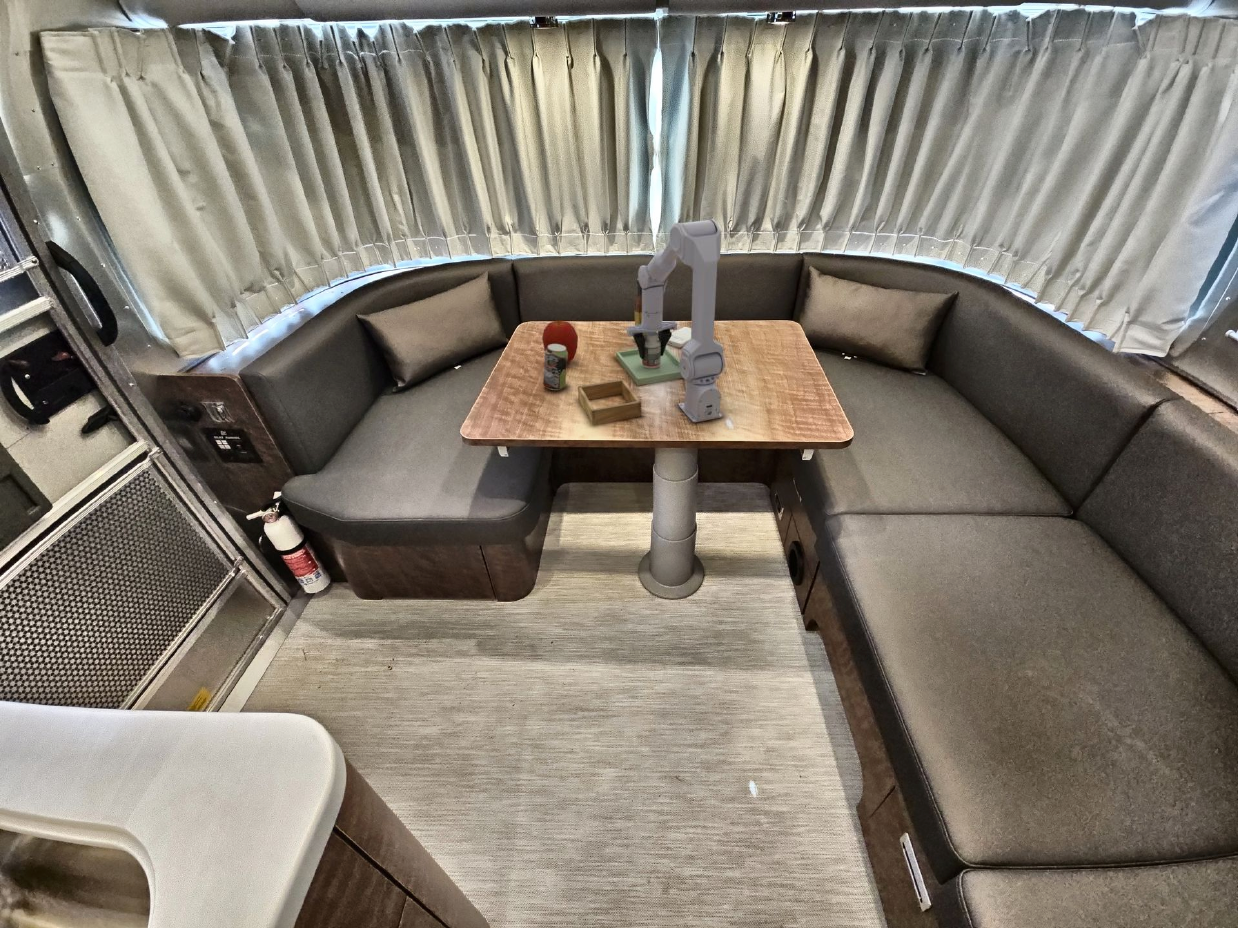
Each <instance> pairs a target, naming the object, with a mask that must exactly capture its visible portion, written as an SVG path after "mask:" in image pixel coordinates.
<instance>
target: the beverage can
mask: <svg viewBox="0 0 1238 928" xmlns="http://www.w3.org/2000/svg"><path fill="white" fill-rule="evenodd" d="M567 359H568V352H567V350H566V347H565V346H563V345H560V344H550V345H548V348H547V349H546V350H544V364H543V365H544V366H543V378H542V379H543V381H542V384H543V386H544V387H546V389H548V390H551V391H559V390H562V389H563V388H565V387H566V382H567V381H566V380H567V369H568V364H567Z"/></svg>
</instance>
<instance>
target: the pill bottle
mask: <svg viewBox="0 0 1238 928" xmlns="http://www.w3.org/2000/svg"><path fill="white" fill-rule="evenodd" d="M644 338H645V339H646V341H645V348H644V354H645V356H644V359H642V365H643V367H645V368H648V369H654V368H657V367H659V366H660V359H661V342H660V340H659V339H658V338H659V337H658V332H652V333H645V334H644Z"/></svg>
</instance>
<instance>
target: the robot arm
mask: <svg viewBox="0 0 1238 928" xmlns="http://www.w3.org/2000/svg"><path fill="white" fill-rule="evenodd" d="M721 251H722V230H721V228H720V226H719V225H718V222H717V221H716V220H715V219H713V218H709V219H707V220H698V221H697V220H696V221H689V222H687V221H686V222H675V223H673V225H672V227H671V228H670V229H669V241H668V242H667V244H666V246H665V248H664V249H663V248H662V249H657V250H656V252H655V255H654V256H653V257H652V259H651V260H650V261H649V263H648V264H647V265H640V266H639V268H638V271H637V277H638V278H637V279H639V284H640V286H641V288H642V324H639V325H636V326H635V325H633V326H630V327H626V336H627V337H628V338H630V337H633V340H634V342H635V344H636V347H637V349H638V351H639V356H640V358H641V359H644V356H645V354H644V348H645V341H646V339H645V338H644V335H643V334H645V333H652V332H658V337H659V338H658V340H660V342H661V356H663V354H664V351H665V348H667V345H668V344H667V343H668V341H669V339H670V338H671V336H672V331H677V330H678V322H676V321H675V320H672V321H663V317H664V316H663V313H664V312H663V311H664V310H663V309H664V294H665V293H666V288H667V287H666V286H667V284H668V280H669V277H668V276H669V275H670V274H671V273H672V271H674V269H675V268H676V266H677V259H679V260H680V261H681V262H682V264H683V265H686V266H688V267H690V268H691V270H692V291H691V292H692V293H691V294H692V295H691V323H690V325H691V327H690V328H691V339H690V340H689V342H688V343H687V344H686V345H685V346H683V347H681V355H680V359H679V360H680V361H679V370H680V373H681V375H682V377H683V378H682V379H683V380H685V388H684V389H685V391H684V394H685V395H684V402H680V403H677V404H678V405H677V406H678V407H679V409H681V410H682V412H683V413H684V414H685V415H686V416H687V418H689V420H690V421H691V422H692V423H699V422H705V421H711V420H716V419H721V418H723V414H722V413H721V412H720V410H721V401H722V395H721V391H720V390H719V389H718V387H717V380H719V378H720V375H722V374H723V372H724V371H725V368H726V359H725V353H724V346H723V345H722V344H721V342H719V341H718V340H716V339H714V333H715V317H716V315H715V314H716V296H717V295H716V294H717V276H718V262H719V260H720V259H721ZM671 330H672V331H671Z"/></svg>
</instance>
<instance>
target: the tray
mask: <svg viewBox="0 0 1238 928" xmlns="http://www.w3.org/2000/svg"><path fill="white" fill-rule="evenodd" d="M615 359H616V361H618V363H620V365H621V366H622V368H623V369H624V370H625V372H627V375H629V377H630V378H631V379H632V380H633V382H634V383H635V384H636V385H637V386H642V385H649V384H655V383H661V382H667V381H672V380H679V379H684V378H683V377H682V375H681V373H680V370H679V361H680V359H679V358H678V357H677V356H676V355H675V354H674V352H672V351H671V350H670V349H669V348H668V347H666V348H665V351H664V354H663V356H661V359H660V366H659V367H657V368H654V369H648V368H645V367H643V365H642V359H641V358H640V356H639V351H638V348H633V349H627V350H620V351H615Z"/></svg>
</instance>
